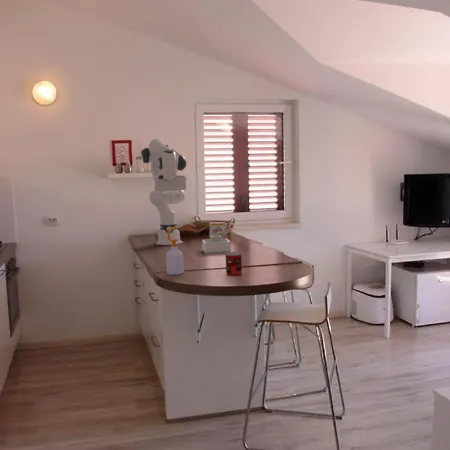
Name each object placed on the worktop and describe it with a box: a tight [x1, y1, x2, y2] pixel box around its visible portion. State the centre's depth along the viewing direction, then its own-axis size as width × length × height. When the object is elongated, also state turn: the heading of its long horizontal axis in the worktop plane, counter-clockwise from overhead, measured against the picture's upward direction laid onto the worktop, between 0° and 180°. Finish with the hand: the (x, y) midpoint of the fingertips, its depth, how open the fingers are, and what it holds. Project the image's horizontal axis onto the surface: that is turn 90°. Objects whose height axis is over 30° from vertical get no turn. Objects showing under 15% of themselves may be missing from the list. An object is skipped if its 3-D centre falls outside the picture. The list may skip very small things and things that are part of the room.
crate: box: [201, 237, 232, 255], centre depth 356 cm, size 14×16×7 cm
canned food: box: [225, 251, 243, 277], centre depth 283 cm, size 8×8×11 cm
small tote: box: [210, 235, 221, 242], centre depth 355 cm, size 6×6×9 cm
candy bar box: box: [208, 221, 227, 239], centre depth 373 cm, size 11×5×16 cm, turn 84°
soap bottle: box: [165, 226, 185, 276], centre depth 291 cm, size 9×9×25 cm
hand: (170, 197), depth 355 cm, fingers open, 8 cm apart
